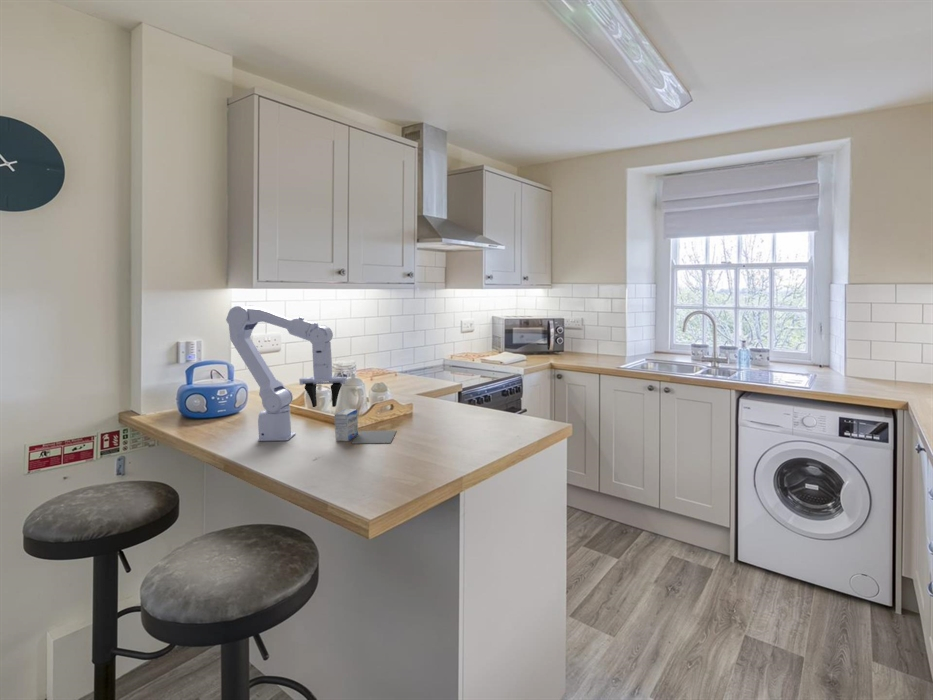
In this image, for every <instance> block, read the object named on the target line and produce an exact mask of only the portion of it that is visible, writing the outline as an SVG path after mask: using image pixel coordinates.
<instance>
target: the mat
mask: <svg viewBox="0 0 933 700" xmlns="http://www.w3.org/2000/svg"><path fill="white" fill-rule="evenodd" d="M396 433H397V430H360V431H358V435H357V436H355V437H354V438H353V441H352V442H351V445H368V444H370V445H373V444H374V445H378V444H379V445H383V444H384V445H385V444H387V445H389V444H392V442H393V440H394V438H395V436H396Z"/></svg>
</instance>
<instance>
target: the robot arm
mask: <svg viewBox="0 0 933 700" xmlns="http://www.w3.org/2000/svg"><path fill="white" fill-rule="evenodd" d="M225 321H226V323H227V324H228V330H229V338H230V341H231V343H232V345H233V346H234V348H235V350H236V351H237V352H238V355H240V358H241V359H242V361H243V362H244V364H245V365H246V367H247V369H248V370H249V373H251V375H252V377H253V379H254V381H255V382H256V383H257V385H258V387H259V392H258V393H259V397H260V398H261V404H262V407H263V408H264V410H261V411H260V412H259V414H258V418H257V425H258V426H257V427H258V430H257V431H258V439H257V441H259V442H267V441H268V442H269V441H270V442H271V441H289V440H290V439H291V438H293V437H294V436H295V435H296V432H292V421H291V407H290V405H291V403H292V402H293V399H294V397H293V394H292V391H291V390H290V389H289V388H287V387H285V385H284V383H282V382H281V380H280V381H279V380H278V379H276V377H275V376H274V374H273V372H272V371H271V369H270V367H269V365H268V364H267V362H266V361H265V359H264V357H263V356H262V354H261V353H260V351H259V349H258V348H257V346H256V344H255V343H254V342H253V340H252V339H251V336H252V334H253V330H254V329H255V328H256V326H257V325H258V323H263V322H264V323H266V324H270V325H273V326H277V327H279V328H282V329H285V330H287V332H288V334H289V335H292V336H294V337H297V338H300V339H303V340H305V341H308V342H310V344H311V346H312V351H311V352H312V368H313V369H312V370H313V376H311V377H301V378H299V386H300V385H301V386H303V385H305V386H304V390H305V391H306V393H307V394H308V397H309V399H310V401H311V402H310V403H311V406H312V408H316V407H317V405H318V402H317V385H330V390H331V391H330V392H331V405H332V407H333V408H334V407H336V406H337V402H338V398H339V394H340V391H341V388H342V386H343V385H347V383H348V381H347V380H348V379H347V376H333V362H332V361H333V360H332V345H331V344H332V343H331V341H332V339H333V337H334V334H333V333H334V332H333V330H332V329H331V328H330V327H328V326H327V325H325V324H323V325H322V324H321V325H319V323H318V322H311V321H308V320H305V317H302V316H299V317H293V318H289V317H285V316H283V315H280V314H278V313H275V312H273V311H270V310H268V309H265V308H263V307H256V306H254V305H247V306H246V305H245V306H244V305H243V306H238V305H237V306H236V305H235V306H233V307H231V308H230V309H229V311H228V313H227V316H226V318H225Z"/></svg>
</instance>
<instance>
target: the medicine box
mask: <svg viewBox="0 0 933 700" xmlns="http://www.w3.org/2000/svg"><path fill="white" fill-rule="evenodd" d="M358 420H359V419H358V410H357V409H356V408H354V409H353V408H346V409H343V410H341V411H340V412H338V413H335V414H334V432H335V433H334V434H335V436H334V437H335V441H336V442H349V441H351V440H352V439H355V438H356V437H357V435H358V434H359V425H358V423H359V422H358Z"/></svg>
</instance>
